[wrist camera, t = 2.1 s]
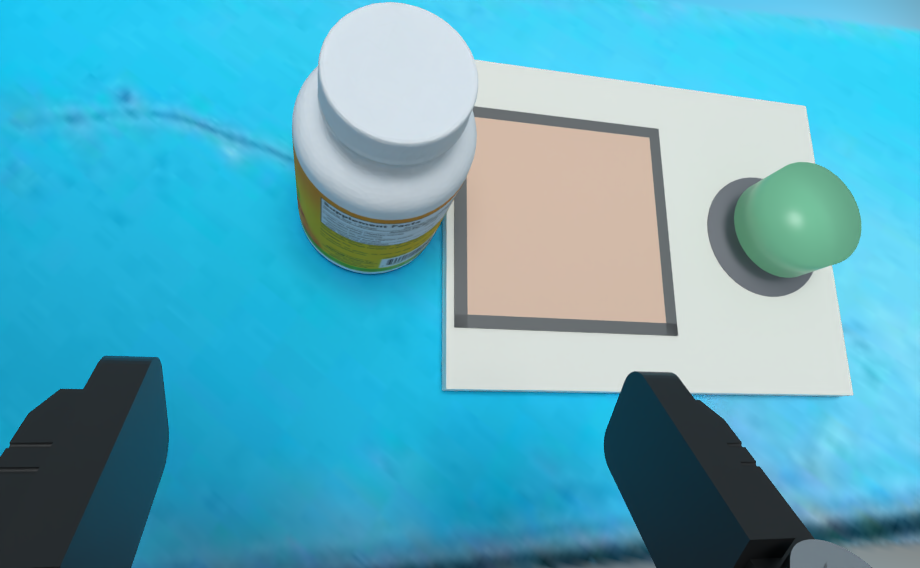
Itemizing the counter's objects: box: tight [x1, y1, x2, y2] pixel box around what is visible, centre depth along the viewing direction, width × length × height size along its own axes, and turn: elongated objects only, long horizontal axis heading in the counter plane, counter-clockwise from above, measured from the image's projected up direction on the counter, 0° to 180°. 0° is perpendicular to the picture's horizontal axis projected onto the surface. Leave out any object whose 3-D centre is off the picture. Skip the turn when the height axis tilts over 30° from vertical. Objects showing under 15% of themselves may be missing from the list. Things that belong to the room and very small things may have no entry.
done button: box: [734, 162, 861, 278], centre depth 25 cm, size 4×4×2 cm
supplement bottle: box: [292, 2, 478, 274], centre depth 19 cm, size 5×5×10 cm
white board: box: [442, 60, 853, 396], centre depth 26 cm, size 18×14×1 cm
